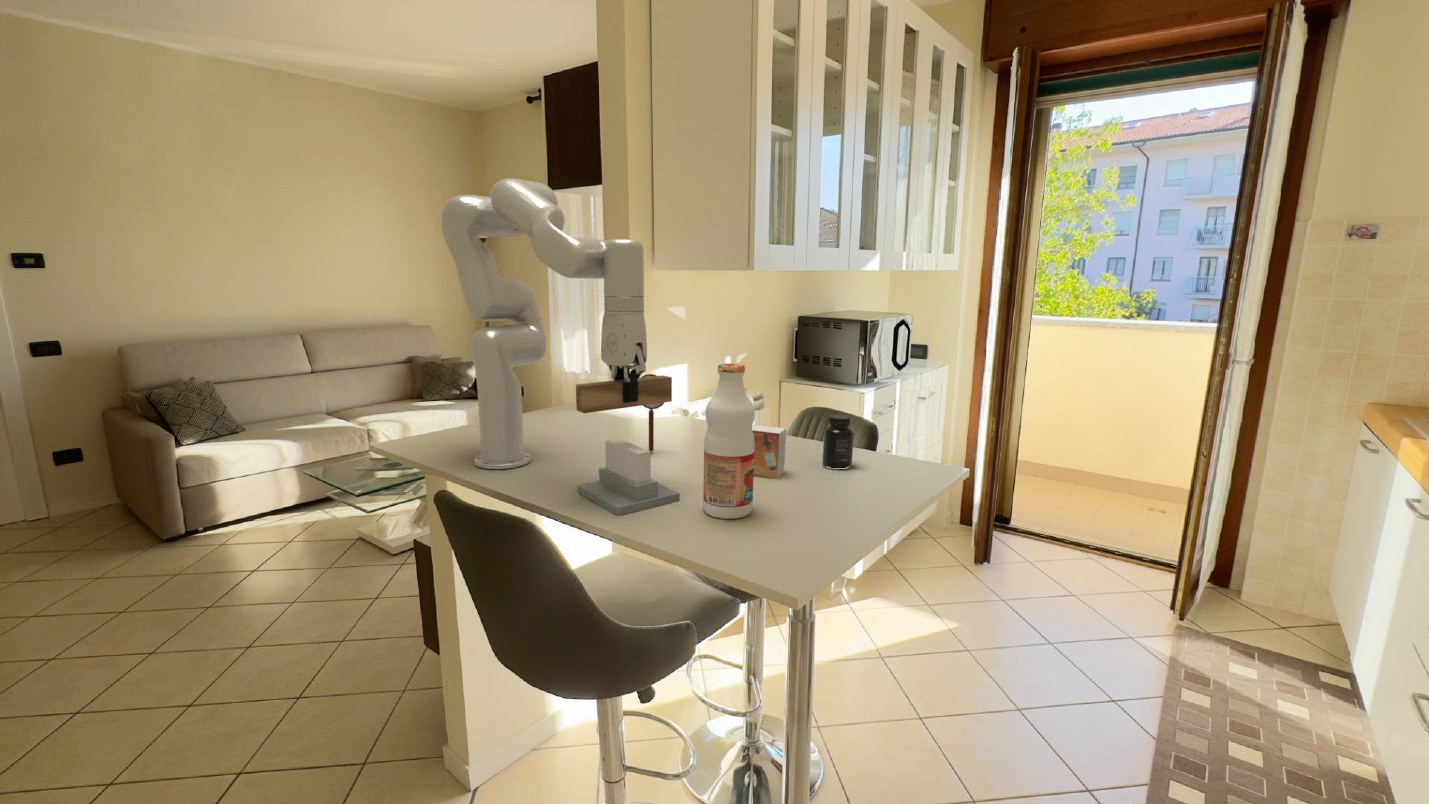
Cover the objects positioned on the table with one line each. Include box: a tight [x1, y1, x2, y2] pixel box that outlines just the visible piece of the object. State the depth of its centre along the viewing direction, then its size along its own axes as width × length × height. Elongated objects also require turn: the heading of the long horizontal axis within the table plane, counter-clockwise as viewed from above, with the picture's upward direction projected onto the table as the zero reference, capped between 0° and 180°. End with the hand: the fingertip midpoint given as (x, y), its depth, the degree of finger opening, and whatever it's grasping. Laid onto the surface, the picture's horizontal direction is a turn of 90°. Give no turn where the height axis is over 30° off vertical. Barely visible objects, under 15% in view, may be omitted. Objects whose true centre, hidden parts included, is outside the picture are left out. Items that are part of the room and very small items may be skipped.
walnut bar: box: [575, 375, 673, 414], centre depth 126 cm, size 3×20×5 cm, turn 130°
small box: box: [752, 424, 787, 479], centre depth 145 cm, size 8×6×10 cm
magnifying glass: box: [640, 373, 666, 455], centre depth 158 cm, size 9×2×20 cm, turn 66°
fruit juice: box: [702, 362, 756, 520], centre depth 120 cm, size 9×9×28 cm
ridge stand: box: [576, 438, 681, 517], centre depth 128 cm, size 16×14×10 cm
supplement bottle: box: [822, 414, 855, 468], centre depth 152 cm, size 7×7×12 cm
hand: (625, 399), depth 127 cm, fingers closed on walnut bar, 2 cm apart
